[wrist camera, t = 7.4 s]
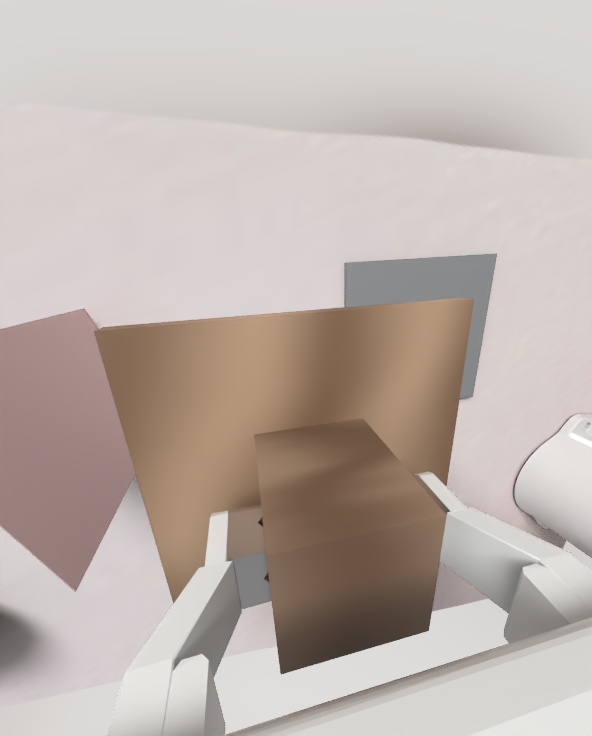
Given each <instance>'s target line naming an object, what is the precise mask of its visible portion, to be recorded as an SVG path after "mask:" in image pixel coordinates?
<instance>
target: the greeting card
mask: <svg viewBox="0 0 592 736" xmlns="http://www.w3.org/2000/svg"><path fill="white" fill-rule="evenodd" d="M96 330H98V329H97V327H96V326H95V324H94V323H93V321H92V320H91V318H90V317H89V315H88V314H87V312H86V311H85V309H80V310H76V311H72V312H68V313H64V314H60V315H56V316H52V317H48V318H44V319H40V320H36V321H32V322H28V323H24V324H20V325H16V326H12V327H8V328H4V329H0V527H1V528H2V529H3V530H4V531H6V532H7V533H8V534H9V535H10V536H11V537H12V538H14V539H15V540H16V541H17V542H18V543H19V544H21V545H22V546H23V547H24V548H25V549H26V550H27V551H29V552H30V553H31V554H32V555H33V556H34V557H35V558H37V559H38V560H39V561H40V562H41V563H42V564H43V565H45V566H46V567H47V568H48V569H49V570H50V571H51V572H53V573H54V574H55V575H56V576H57V577H58V578H59V579H61V580H62V581H63V582H64V583H65V584H66V585H67V586H69V587H70V588H71V589H72V590H73V591H74V592H76V590H77V588H78V586H79V584H80V582H81V580H82V578H83V576H84V574H85V572H86V570H87V568H88V566H89V564H90V562H91V560H92V559H93V557H94V555H95V553H96V551H97V549H98V547H99V545H100V543H101V541H102V539H103V537H104V535H105V533H106V531H107V529H108V527H109V525H110V523H111V521H112V519H113V517H114V515H115V513H116V511H117V509H118V507H119V505H120V503H121V501H122V499H123V497H124V495H125V493H126V491H127V489H128V487H129V485H130V483H131V481H132V479H133V477H134V475H135V470H134V467H133V463H132V460H131V457H130V453H129V450H128V446H127V443H126V440H125V436H124V433H123V429H122V426H121V423H120V419H119V416H118V412H117V409H116V406H115V402H114V399H113V395H112V392H111V389H110V385H109V382H108V378H107V375H106V371H105V368H104V365H103V361H102V358H101V354H100V351H99V348H98V344H97V341H96V337H95V334H94V331H96Z"/></svg>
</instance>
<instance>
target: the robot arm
mask: <svg viewBox="0 0 592 736" xmlns="http://www.w3.org/2000/svg"><path fill="white" fill-rule="evenodd" d="M412 476H413V477H414V478H415V479H416V480H417V481H418V483H419V484H420V485H421V486H422V487H423V488H424V489H425V491H426V492H427V493H428V494H429V495H430V496H431V498H432V499H433V500H434V501H435V502H436V503H437V505H438V506H439V507H440V508H441V509H442V510H443V511H444V513H445V514H446V515H447V517H446V523H445V530H444V536H443V542H442V549H441V555H440V562H441V563H442V564H443V565H445V566H446V567H447V568H449V569H450V570H451V571H453V572H454V573H455V574H457V575H458V576H459V577H461V578H462V579H463V580H465V581H466V582H467V583H469V584H470V585H471V586H473V587H474V588H475V589H477V590H478V591H479V592H481V593H482V594H483V595H485V596H486V597H487V598H489V599H490V600H491V601H493V602H494V603H495V604H497V605H498V606H499V607H501V608H502V609H503V610H505V611H506V612H507V613H509V615H508V618H507V622H506V625H505V629H504V637H505V638H506V640H507V641H508V643H509V644H506V645H503V646H500V647H497V648H494V649H491V650H488V651H484V652H481V653H478V654H475V655H472V656H469V657H466V658H463V659H460V660H456V661H453V662H450V663H447V664H444V665H441V666H438V667H435V668H431V669H429V670H425V671H422V672H419V673H416V674H413V675H410V676H406V677H404V678H400V679H397V680H394V681H391V682H388V683H385V684H382V685H378V686H375V687H372V688H369V689H366V690H363V691H360V692H357V693H354V694H351V695H348V696H344V697H341V698H338V699H335V700H332V701H328V702H325V703H322V704H319V705H316V706H313V707H310V708H307V709H304V710H301V711H298V712H294V713H291V714H288V715H285V716H282V717H279V718H276V719H273V720H270V721H266V722H263V723H260V724H257V725H254V726H251V727H248V728H245V729H241V730H238V731H235V732H232V733H229V734H226V735H225V722H224V718H223V714H222V710H221V706H220V702H219V698H218V694H217V691H216V687H215V683H214V679H213V678H214V676H215V674H216V671H217V669H218V666H219V664H220V662H221V659H222V657H223V655H224V652H225V650H226V648H227V645H228V643H229V641H230V638H231V636H232V633H233V631H234V629H235V626H236V624H237V622H238V619H239V617H240V615H241V612H242V611H241V609H245V608H248V607H252V606H255V605H259V604H262V603H266V602H269V601H272V598H271V590H270V582H269V574H268V566H267V558H266V548H265V538H264V528H263V518H262V509H261V505H256V506H250V507H244V508H238V509H232V510H229V511H223V512H216V513H212V514H211V517H210V522H209V531H208V540H207V549H206V558H205V566H204V567H200V568H198V570H197V571H196V573H195V574H194V575H193V577H192V578H191V580H190V581H189V583H188V584H187V585H186V587H185V588H184V590H183V591H182V592H181V594H180V595H179V597H178V598H177V600H176V601H175V602H174V604H173V605H172V607H171V608H170V609H169V611H168V612H167V614H166V615H165V616H164V618H163V619H162V621H161V622H160V624H159V625H158V626H157V628H156V629H155V631H154V632H153V633H152V635H151V636H150V638H149V639H148V641H147V642H146V643H145V645H144V646H143V648H142V649H141V650H140V652H139V653H138V655H137V656H136V658H135V659H134V660H133V662H132V663H131V665H130V666H129V667H128V669H127V670H126V672H125V674H124V678H123V681H122V685H121V688H120V692H119V695H118V699H117V702H116V706H115V709H114V713H113V717H112V720H111V723H110V727H109V731H108V734H107V736H592V571H591V570H590V569H589V568H588V567H587V566H586V565H584V564H583V563H582V562H581V561H579V560H578V559H577V558H576V557H575V556H574V555H572V554H571V553H570V552H568V551H565V550H563V549H561V548H559V547H557V546H555V545H552V544H550V543H548V542H546V541H544V540H542V539H539V538H537V537H535V536H533V535H531V534H529V533H526V532H524V531H522V530H520V529H518V528H516V527H513V526H511V525H509V524H507V523H505V522H503V521H500V520H498V519H496V518H494V517H492V516H489V515H487V514H485V513H483V512H481V511H479V510H476V509H474V508H472V507H470V508H467V507H466V506H465V505H464V504H463V503H462V502H461V501H460V500H459V499H458V498H457V497H456V496H455V495H454V494H453V493H452V492H451V491H450V490H449V489H448V488H447V487H446V486H445V485H444V484H443V483H442V482H441V481H440V480H439V479H438V478H437V477H436V476H435V475H434V474H433V473H431V472H424V473H419V474H415V475H412ZM514 493H515V500H516V503H517V505H518V507H519V508H520V509H521V510H523V511H524V512H526V513H528V514H529V515H531V516H533V517H534V519H535V521H536V522H537V523H538V524H539V525H540V526H542V527H543V528H545V529H552V530H553V531H554V532H556V533H557V534H559V535H560V536H561V537H563V538H564V539H566V540H567V541H568V542H570V543H571V544H573V545H574V546H576V547H577V548H578V549H580V550H581V551H582V552H584V553H585V554H587V555H588V556H590V557H591V558H592V414H576V415H574V416H572V417H571V418H570V419H569V420H568V421H567V422H566V423H565V424H564V426H563V427H562V428H561V429H560V431H559V432H558V433H557V434H556V435H554V436H553V437H552V438H551V439H549V440H548V441H546V442H545V443H544V444H543V445H541V446H540V447H539V448H538V449H537V450H536V451H535V452H534V453H533V454H532V455H531V457H530V458H529V459H528V460H527V462H526V463H525V465H524V466H523V468H522V470H521V471H520V473H519V476H518V478H517V481H516V485H515V492H514Z"/></svg>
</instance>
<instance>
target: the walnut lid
mask: <svg viewBox="0 0 592 736" xmlns="http://www.w3.org/2000/svg"><path fill="white" fill-rule="evenodd" d="M473 304H474V299H467V298H454V299H442V300H429V301H417V302H405V303H393V304H381V305H369V306H357V307H344V308H332V309H320V310H308V311H296V312H284V313H272V314H260V315H247V316H235V317H223V318H211V319H199V320H187V321H175V322H162V323H150V324H138V325H126V326H114V327H103V328H101V329H98V330H96V331H94V334H95V337H96V341H97V344H98V348H99V351H100V354H101V358H102V361H103V365H104V368H105V371H106V375H107V378H108V382H109V385H110V389H111V392H112V395H113V399H114V402H115V406H116V409H117V412H118V416H119V419H120V423H121V426H122V429H123V433H124V436H125V440H126V443H127V446H128V450H129V453H130V457H131V460H132V463H133V467H134V470H135V474H136V477H137V481H138V484H139V487H140V491H141V494H142V498H143V501H144V504H145V508H146V511H147V515H148V518H149V521H150V525H151V528H152V532H153V535H154V538H155V542H156V545H157V549H158V552H159V555H160V559H161V562H162V566H163V569H164V572H165V576H166V579H167V583H168V586H169V590H170V593H171V596H172V600H173V603H174V602H175V601H176V600H177V598H178V597H179V595H180V594H181V592H182V591H183V590H184V588H185V587H186V585H187V584H188V583H189V581H190V580H191V578H192V577H193V575H194V574H195V573H196V571H197V570H198V568H200V567H204V566H205V558H206V549H207V540H208V531H209V522H210V517H211V514H212V513H216V512H223V511H229V510H232V509H238V508H244V507H250V506H256V505H261V509H262V518H263V528H264V538H265V548H266V558H267V566H268V574H269V582H270V590H271V598H272V606H273V615H274V623H275V631H276V639H277V647H278V655H279V664H280V672H281V674H284V673H287V672H290V671H294V670H297V669H301V668H304V667H307V666H311V665H314V664H318V663H321V662H324V661H328V660H330V659H334V658H338V657H341V656H345V655H348V654H352V653H355V652H358V651H362V650H365V649H368V648H372V647H375V646H378V645H382V644H385V643H389V642H392V641H396V640H399V639H402V638H405V637H409V636H412V635H416V634H419V633H422V632H426V631H429V626H430V619H431V613H432V606H433V600H434V594H435V587H436V581H437V574H438V568H439V562H440V555H441V549H442V542H443V536H444V530H445V523H446V517H447V515H446V514H445V513H444V511H443V510H442V509H441V508H440V507H439V506H438V505H437V503H436V502H435V501H434V500H433V499H432V498H431V496H430V495H429V494H428V493H427V492H426V491H425V489H424V488H423V487H422V486H421V485H420V484H419V483H418V481H417V480H416V479H415V478H414V477H413V476H412V475H415V474H419V473H424V472H431V473H433V474H434V475H435V476H436V477H437V478H438V479H439V480H440V481H441V482H442V483H443V484H444V485H445V486H446V485H447V479H448V472H449V465H450V458H451V452H452V445H453V438H454V432H455V425H456V418H457V412H458V405H459V398H460V391H461V385H462V378H463V371H464V365H465V358H466V351H467V345H468V338H469V331H470V324H471V318H472V311H473Z"/></svg>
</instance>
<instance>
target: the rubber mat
mask: <svg viewBox="0 0 592 736" xmlns="http://www.w3.org/2000/svg"><path fill="white" fill-rule="evenodd" d="M496 257H497V254H484V255H468V256H451V257H434V258H418V259H401V260H385V261H368V262H352V263H345V307H357V306H369V305H381V304H393V303H405V302H417V301H429V300H442V299H454V298H467V299H474V304H473V311H472V318H471V324H470V331H469V338H468V345H467V351H466V358H465V365H464V371H463V378H462V385H461V391H460V398H459V399H461V398H468V397H473V392H474V386H475V380H476V374H477V368H478V363H479V357H480V351H481V345H482V339H483V333H484V327H485V321H486V316H487V310H488V304H489V298H490V292H491V286H492V280H493V274H494V269H495V263H496Z"/></svg>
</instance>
